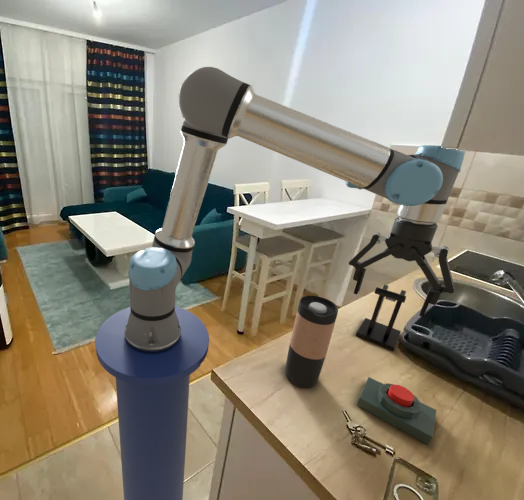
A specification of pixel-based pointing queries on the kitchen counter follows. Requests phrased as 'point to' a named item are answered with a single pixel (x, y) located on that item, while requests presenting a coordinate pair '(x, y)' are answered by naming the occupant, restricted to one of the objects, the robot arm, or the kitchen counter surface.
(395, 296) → the lever
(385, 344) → the bracket
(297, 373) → the travel mug
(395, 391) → the button
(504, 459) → the kitchen counter surface
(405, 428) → the button box
